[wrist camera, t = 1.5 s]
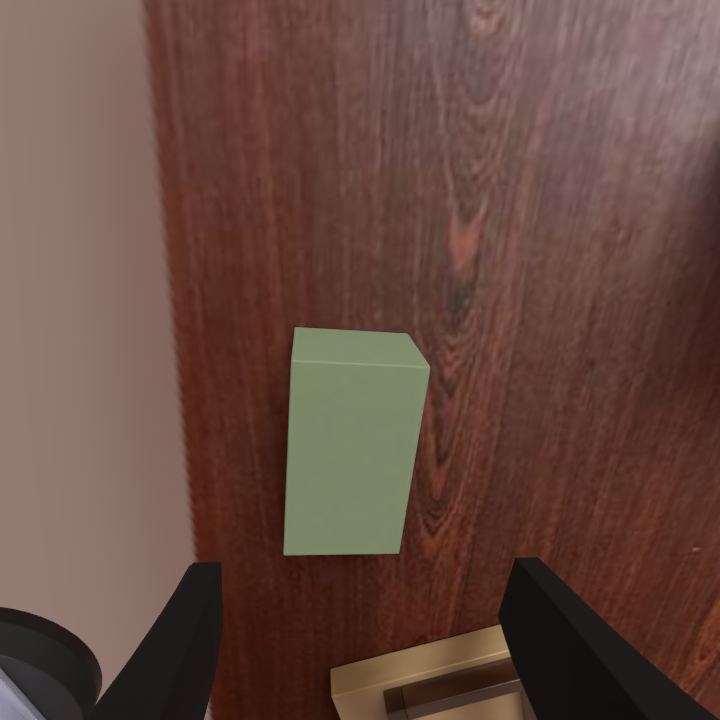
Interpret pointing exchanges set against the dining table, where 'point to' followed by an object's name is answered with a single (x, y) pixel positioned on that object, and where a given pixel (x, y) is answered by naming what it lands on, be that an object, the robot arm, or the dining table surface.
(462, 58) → the dining table surface
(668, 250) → the dining table surface
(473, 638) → the wooden base with frame
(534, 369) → the dining table surface
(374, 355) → the green rectangular block
